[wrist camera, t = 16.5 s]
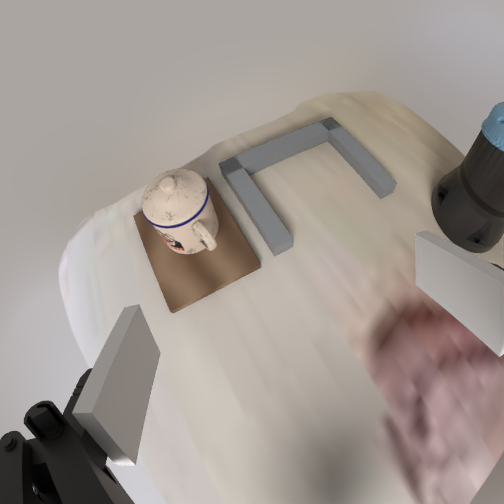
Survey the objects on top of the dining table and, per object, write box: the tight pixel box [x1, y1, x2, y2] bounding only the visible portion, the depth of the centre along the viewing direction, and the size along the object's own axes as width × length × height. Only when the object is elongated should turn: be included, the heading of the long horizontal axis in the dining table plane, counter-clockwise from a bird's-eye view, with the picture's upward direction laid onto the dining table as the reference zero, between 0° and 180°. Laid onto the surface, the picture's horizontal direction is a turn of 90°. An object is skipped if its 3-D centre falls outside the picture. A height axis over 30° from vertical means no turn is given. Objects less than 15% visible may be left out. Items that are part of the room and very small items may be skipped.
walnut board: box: [133, 177, 261, 313], centre depth 46 cm, size 14×18×1 cm
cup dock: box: [219, 117, 397, 256], centre depth 49 cm, size 23×18×2 cm
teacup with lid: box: [142, 169, 219, 254], centre depth 41 cm, size 12×9×12 cm
